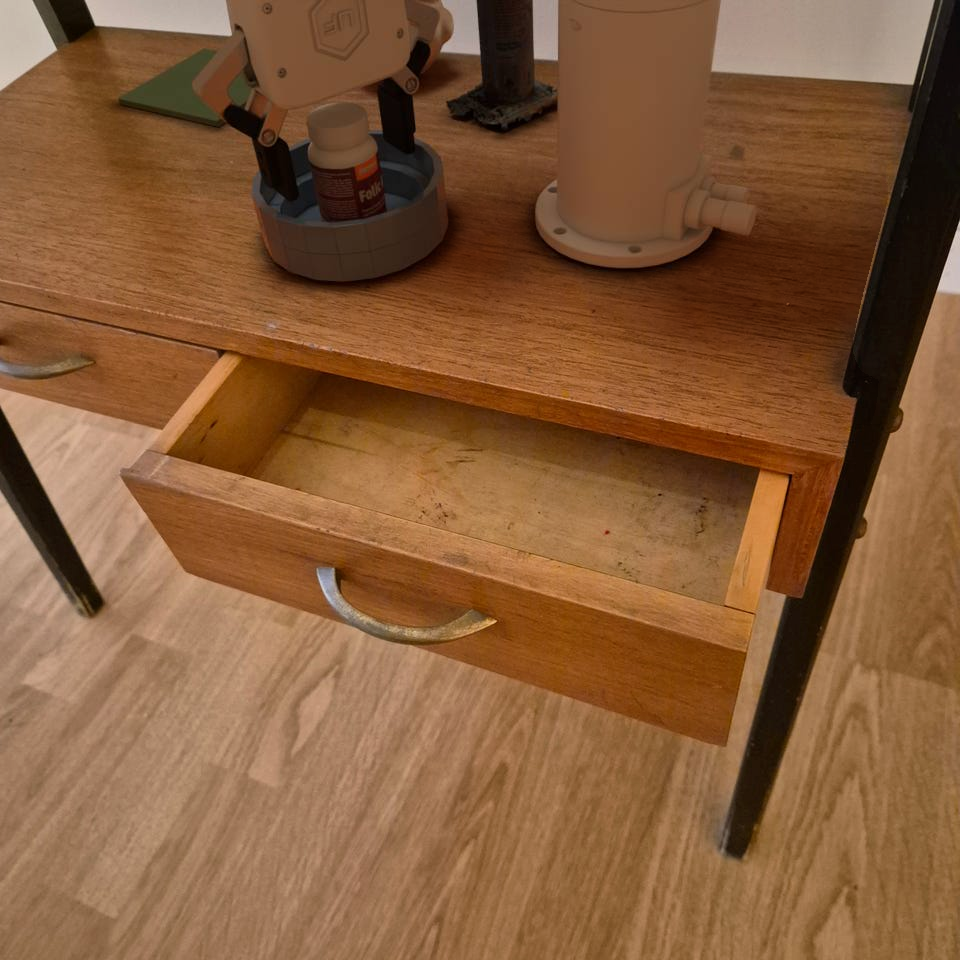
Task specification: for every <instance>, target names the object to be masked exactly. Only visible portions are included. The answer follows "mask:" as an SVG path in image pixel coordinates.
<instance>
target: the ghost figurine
mask: <svg viewBox="0 0 960 960" xmlns="http://www.w3.org/2000/svg"><path fill="white" fill-rule="evenodd" d="M417 1H419V2H422V3H424V4H427V5H429V6H431V7H433V8H435V9H437V10H438V11H439V13H440V19H439V22H438V25H437V28H436V32H435V35H434V38H433V41H432V42H431V43H430V49H431V53H430V57H429V59H428V60H427V62H426V64H425V66H424V68H423V69H422V71H421V73H420V75H422V74H424V73H425V72H426V71H428V70H429V69H430V68H431V66H432V65H433V64H434V62H435V61H436V60H437V58H438V56H439V55H440V53H441V51H442V48H443V46H444V45H445V44H446V43H447V42H449V41H450V40H451V38H452V37H453V35H454V30H455V27H454V25H455V24H454V17H453V15H452V13H451V11H450V10H449V9H447V8H446V7H445V6H444V4H443V2H442V0H417ZM407 23H408V30H409V28H410V22H409V20H407ZM420 75H419V76H420Z"/></svg>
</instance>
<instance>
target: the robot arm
mask: <svg viewBox="0 0 960 960" xmlns="http://www.w3.org/2000/svg"><path fill="white" fill-rule="evenodd" d="M721 1H722V0H557V89H558V104H557V118H556V119H557V121H556V122H557V127H556V128H557V129H556V131H557V134H556V137H557V138H556V139H557V141H556V142H557V144H556V161H557V162H556V178H555V180H553V181H552V182H551V183H549V184H547V186H545V188H544V189H543V190H542V191H541V193H540V194H539V195H538V198H537V200H536V202H535V211H534V214H535V215H534V219H535V227H536V230H537V231H538V234H539V236H540V237H541V238H542V239H543V241H544V242H545V243H546V244H547V245H548V246H550V247H551V248H552V249H553V250H555V251H557V252H558V253H560V254H562V255H564V256H566V257H568V258H569V259H572V260H575V261H577V262H581V263H584V264H586V265H593V266H598V267H602V268H611V269H613V268H614V269H640V268H647V267H656V266H659V265H664V264H667V263H670V262H674V261H676V260H679V259H680V258H683V257H685V256H687V255H689V254H691V253H692V252H694V251H696V250H697V249H698V248H700V247H701V246H703V244H704V243H705V242H706V241H707V240H708V239H709V236H710V235H711V234H712V231H713V230H714V228H716V229H720V230H721V231H725V232H729V233H733V234H738V235H743V236H746V237H748V236H749V235H750V234H751V232H752V229H753V227H754V224H755V221H756V217H757V212H758V206H757V205H755V204H749V203H747V202H748V200H749V196H750V195H749V194H750V188H749V187H746V186H741V185H735V184H725V183H720V182H717V178H715V177H713V176H711V172H712V171H711V170H712V164H713V158H714V157H713V155H711V154H705V153H702V152H701V151H702V145H703V137H704V129H705V122H706V116H707V115H706V113H707V109H708V108H707V107H708V99H709V93H710V85H711V78H712V70H713V61H714V55H715V47H716V39H717V32H718V25H719V17H720V9H721ZM225 4H226V10H227V14H228V15H227V16H228V22H229V26H230V31H231V35H230V36H229V38H228V39H227V40H226V41H225V42H224V43H223V45H222V46H221V47H220V48H219V49H218V50H217V51H218V52H217V53H216V54H215V55H214V56H213V58H212V59H211V60H210V61H209V62H208V64H207V65H206V66H205V67H204V68H203V69H202V71H201V72H200V73H199V74H198V75H197V77H196V78H195V79H194V80H193V82H192V89H193V91H194V92H195V93H196V94H197V95H198V96H199V97H200V98H201V99H202V100H203V101H204V102H205V103H206V104H207V105H208V106H209V107H210V108H211V109H212V110H213V111H214V112H215V113H216V114H217V115H218V116H219V117H220V118H221V119H222V120H224V121H225V122H226V123H225V124H227V125H228V126H230V127H231V128H233V129H234V130H236V131H238V132H240V133H241V134H244V135H245V136H247V137H249V138H251V141H252V146H253V150H254V153H255V158H256V161H257V166H258V170H259V169H260V173H261V177H262V179H263V181H264V183H265V184H266V185H267V186H268V187H269V188H270V189H272V188H273V189H274V190H276V191H277V192H278V193H279V194H281V195H282V196H283V197H284V198H285V199H287V200H288V201H289V202H291V201H294V200H296V199H298V196H299V191H298V186H297V182H296V177H295V173H294V168H293V164H292V159H291V155H290V150H289V147H290V146H289V144H288V142H287V141H286V140H285V139H283V138H281V137H280V133H281V130H282V128H283V126H284V123H285V120H286V118H287V114H288V113H289V111H293V110H294V111H295V110H301V109H303V108H307V107H310V106H313V105H317V104H320V103H322V102H325V101H328V100H330V99H334V98H337V97H340V96H342V95H345V94H347V93H351V92H353V91H356V90H359V89H361V88H365V87H367V86H369V85H373V84H375V83H377V89H376V95H377V101H378V109H379V117H380V123H381V124H380V125H381V130H382V131H383V138H384V140H385V141H386V142H387V143H389V144H390V145H392V146H393V147H395V148H396V149H398V150H400V151H401V152H403V153H404V154H407V155H409V154H411V153H414V152H415V140H414V137H415V133H416V132H417V131H416V130H417V129H416V128H417V127H416V117H415V116H416V115H415V108H414V99H413V94H415V93H416V92H417V91H418V89H419V85H420V81H419V77H420V73H421V71H422V69H423V68H424V66H425V64H426V62H427V60H428V59H429V57H430V53H431V49H430V43H431V42H432V41H433V38H434V35H435V32H436V28H437V25H438V22H439V19H440V13H439V11H438V10H437V9H435V8H433V7H431V6H429V5H427V4H424V3H422V2H419V1H417V0H225ZM407 20H409V22H410V28H409V30H408V23H407ZM240 73H242V76H243V79H244V81H245V83H246V84H247V85H248V86H249V87H251V88H252V89H251V92H250V95H249V98H248V100H247V103H246V106H245V109H244V108H242V107H240V106H238V105H237V104H236V103H235V102H234V101H233V100H232V99H231V98H230V96H229V95H228V88H229V86H230V84H231V83H232V82H233V81H234V80H235V79H236V77H237V76H238V75H239V74H240ZM380 81H382V82H380ZM378 82H380V83H378Z"/></svg>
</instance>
